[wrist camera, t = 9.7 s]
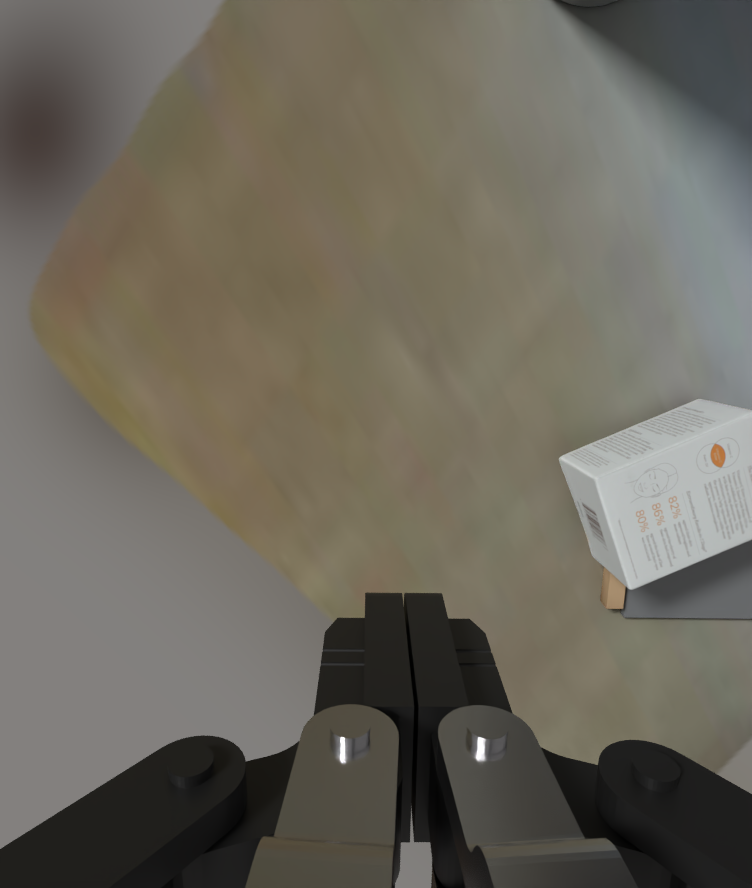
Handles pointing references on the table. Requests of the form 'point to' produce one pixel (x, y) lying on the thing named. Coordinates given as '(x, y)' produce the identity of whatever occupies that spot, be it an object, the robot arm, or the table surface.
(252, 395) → the table surface
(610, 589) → the oak ledge
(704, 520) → the small box
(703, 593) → the rubber mat
